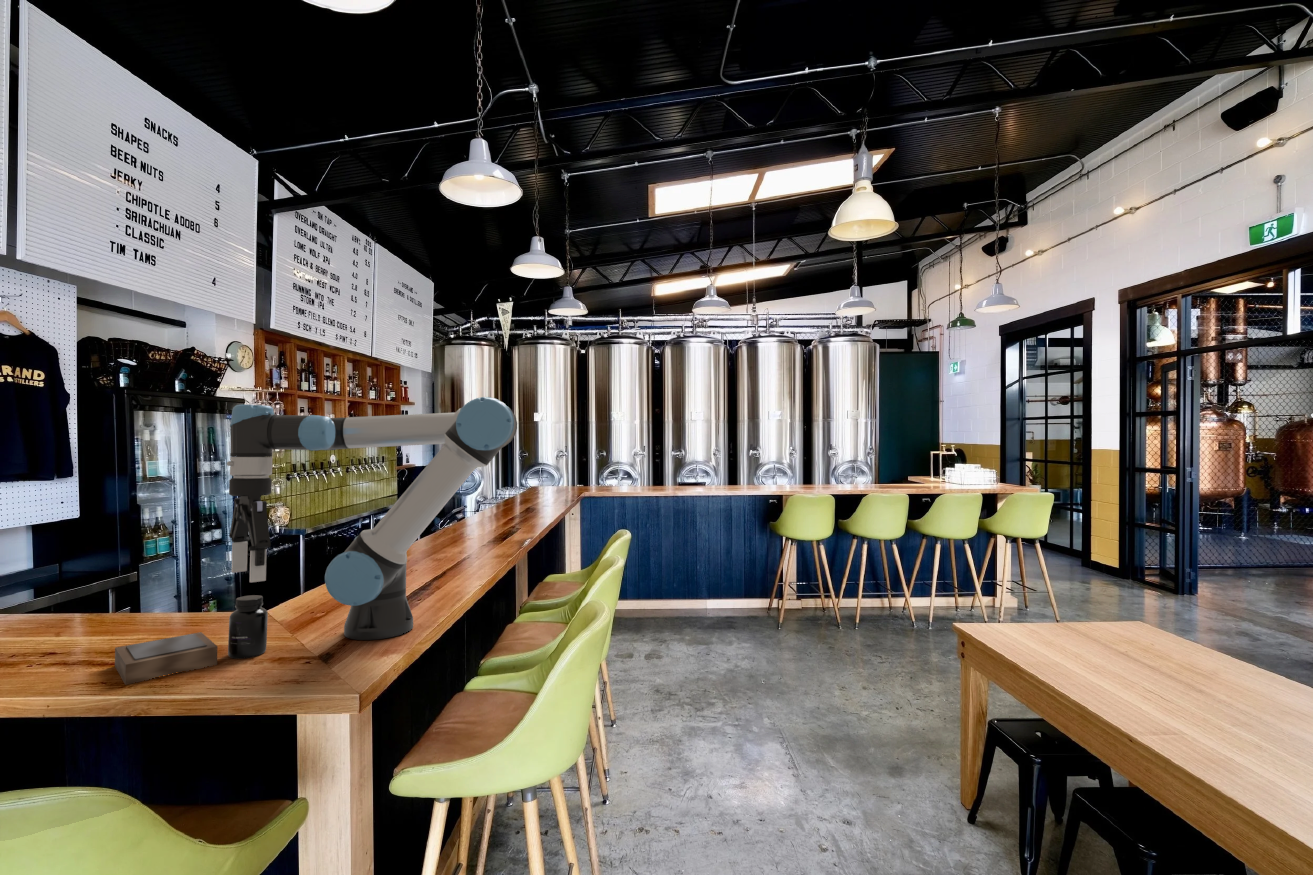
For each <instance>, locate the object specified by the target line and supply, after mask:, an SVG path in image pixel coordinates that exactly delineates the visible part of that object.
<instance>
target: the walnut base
mask: <svg viewBox="0 0 1313 875" xmlns="http://www.w3.org/2000/svg"><path fill="white" fill-rule="evenodd" d="M213 665H214V666H218V645H217V644H215V643H214V642H213V641H212V640H211V639H210V638H208V636H207V635H205V633H203V632H202V631H201V632H200V631H199V632H195V633H188V634H183V635H177V636H172V637H171V636H170V637H166V638H161V639H155V640H154V639H153V640H149V641H144V642H138V643H133V644H128V645H122V646H115V648H114V668H115V669H116V671H117V673H118V674H119V676H120V679H121V680H122V682H123V683H124V685H125V686H126V685H130V684H135V682H136V683H140V682H144V680H145V681H149V679H150V680H153V679H152V678H154V679H156V678H155V677H159V676H163V675H168V674H172V673H176V672H182V671H186V672H190V671H189V670H191V671H195V670H194V669H196V670H200V669H204V667H205V668H208V667H207V666H209V667H213ZM182 673H183V672H182ZM168 676H169V675H168ZM163 677H164V676H163ZM159 678H160V677H159Z"/></svg>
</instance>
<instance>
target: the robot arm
mask: <svg viewBox="0 0 1313 875" xmlns="http://www.w3.org/2000/svg"><path fill="white" fill-rule="evenodd" d="M230 420H231V421H230V424H229V427H230V453H229V454H230V455H229V456H230V461H229V460H228V461H227V462H226V466H227V467H229V475H230V476H231V478H230V479H229V480H228V484H229V485H228V494H229V495H230V496H232V497H235V498H234V499H233V500H234V501H233V502H234V507H233V514H232V519H231V524H230V532H229V538H230V539H231V542H232V545H231V548H232V549H231V573H232V574H234V573H241V572H247V571H248V551H249V552H250V553H249V556H250V557H249V580H248V581H249V583H257V582H258V583H259V582H265V581H267V550H268V548H270V547H271V546H272V542H271V537H270V530H269V527H270V526H269V521H268V520H269V518H268V512H267V510H268V508H267V507H268V506H267V505H268V502H267V500H262V498H261V497H262V496H269V495H271V494H272V480H273V479H272V478H271V477H270V476H272V475H273V450H293V451H296V450H297V451H310V452H311V451H312V452H313V451H335V450H347V449H362V448H363V449H364V448H381V447H382V448H384V447H385V448H386V447H387V448H388V447H402V446H403V447H404V446H424V445H426V446H429V445H443V446H442V447H441V448H440V449H439V451H438V452H437V453H436V454H435V455H434V456H433V458H432V459H431V460H430V461H429V462H428V463H427V465H425V467H424V469H423V470H422V471H421V472H420V473H419V474H418V476H416V478H415V479H414V480H413V482H411V484H410V485H409V486H408V487H407V488H406V490H405V491H404V492H403V493H402V494H401V496H399V498H398V499H397V501H396V502H395V503H394V504H393V505H392V506H391V508H389V510H388V511H386V513H385V514H384V516H383V517H382V518H381V519H380V520H379V521H378V523H377V524H376V525H375V526H374V528H369V529H364V530H362V531H361V532H360V533H359V534H358V535H357V536H355V538H354V539H353V541H352V542H351V543H350V545H349V546H348V547H347V548H346V549H345V550H344V552H342V553H339V554H337V555H336V556H335V557H334V558H333V559H332V560H331V561H330V563H329V564H328V566H327V567H326V570H325V574H324V583H325V588H326V590H327V591H328V594H329V595H330V596H331V597H332V598H333V599H334V600H335V601H337V602H339V603H340V604H341V605H345V606H350V608H349V611H348V614H347V615H346V616H347V617H346V619H345V623H344V626H343V636H344V637H345V638H347V639H351V640H357V641H371V640H374V641H375V640H382V639H389V638H394V637H397V636H398V637H399V636H400V635H404V634H406V632H407V633H409V632H411V631H412V630H413V628H414V616H413V613H412V610H411V607H410V605H409V601H408V599H407V562H408V556H407V551H408V550H409V549H410V547H411V546H412V545H413V544H414V543H415V542H416V540H418V538H419V537H420V535H422V533H424V531H425V530H426V528H428V526H429V525H430V524H431V523H432V521H433V520H434V519H435V518H436V516H438V514H439V513H440V512H441V511H442V510H443V508H444V507H445V506H446V504H447V503H448V502H449V501H450V500H451V498H453V497H454V495H455V494H456V492H458V490H459V489H460V488H461V487H462V485H463V484H464V483H465V482H466V481H467V479H468V478H469V477H470V476H471V475H472V474H473V472H474V471H475V470H476V469H478V468H481V467H482V468H484V467H487V466H488V465H489V464H490V463H491V461H492V460H493V459H494V458H495V456H496V455H497V454H498V453H499V452H500V450H501V449H502V448H504V447H506V446H507V445H508V444H509V443H511V442H512V440H513V439H514V438H515V436H516V433H517V430H518V423H517V418H516V415H515V413H514V412H513V410H512V409H511V407H509V406H507V405H506V403H504V402H503V401H501V400H500V399H499V398H498V399H497V398H496V397H491V396H481V397H476V398H474V399H471V400H469V401H467V403H466V404H464V405H463V406H462V407H460V408H459V409H457V410H456V411H455V412H438V413H435V412H434V413H413V414H396V415H395V414H393V415H390V414H389V415H372V416H352V417H351V416H350V417H330V416H326V415H319V414H317V415H315V414H309V415H308V414H307V415H301V414H299V415H298V414H294V415H292V414H286V415H284V414H283V415H282V414H275V412H274V408H273V407H272V406H270V405H265V404H264V405H263V404H236V405H235V406H233V407H232V409H231V419H230ZM232 477H233V478H232ZM249 542H250V543H251V545H249ZM248 545H249V547H248ZM411 629H412V630H411ZM408 631H409V632H408ZM403 633H404V634H403Z"/></svg>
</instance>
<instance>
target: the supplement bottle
mask: <svg viewBox="0 0 1313 875" xmlns="http://www.w3.org/2000/svg"><path fill="white" fill-rule="evenodd" d="M263 600H264V596H263V595H261V594H260V595H255V594H252V595H244V596H240V597H237V598H236V599H235V606H234V607H235V610H234V611H233V612H231V614H230V615H229V618H228V619H229V620H228V640H227V641H228V644H227V656H228V657H229V658H230V659H234V660H236V659H237V660H241V659H251V658H254V657H259V656H261V655H263V654H264V653H265V652H266V651H267V642H268V641H267V640H268V621H269V618H268V617H269V616H268V614H269V613H268V611H267V609H265V608H264V607H262V606H263V605H264V601H263Z"/></svg>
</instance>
